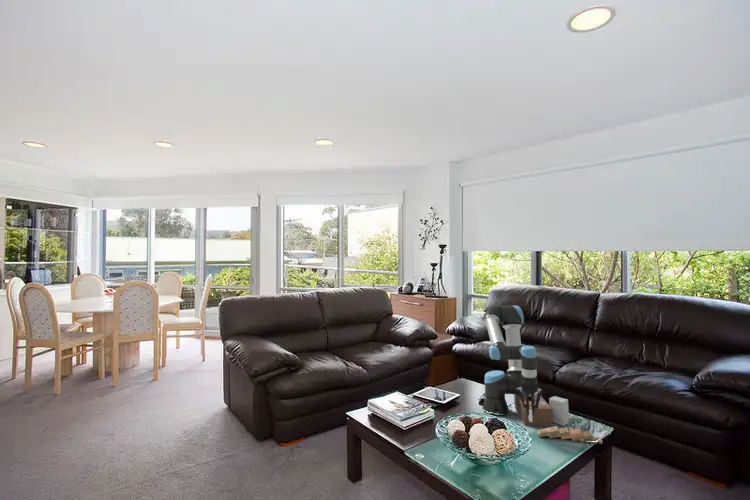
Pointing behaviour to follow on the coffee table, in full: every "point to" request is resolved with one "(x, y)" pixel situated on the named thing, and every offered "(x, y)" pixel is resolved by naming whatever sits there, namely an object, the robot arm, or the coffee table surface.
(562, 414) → the small box
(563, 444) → the coffee table surface
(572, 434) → the terracotta domino
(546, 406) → the tissue box cover
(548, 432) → the domino
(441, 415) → the coffee table surface
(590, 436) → the domino
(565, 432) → the domino
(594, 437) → the domino
